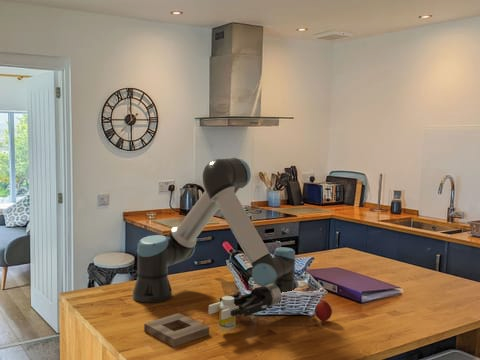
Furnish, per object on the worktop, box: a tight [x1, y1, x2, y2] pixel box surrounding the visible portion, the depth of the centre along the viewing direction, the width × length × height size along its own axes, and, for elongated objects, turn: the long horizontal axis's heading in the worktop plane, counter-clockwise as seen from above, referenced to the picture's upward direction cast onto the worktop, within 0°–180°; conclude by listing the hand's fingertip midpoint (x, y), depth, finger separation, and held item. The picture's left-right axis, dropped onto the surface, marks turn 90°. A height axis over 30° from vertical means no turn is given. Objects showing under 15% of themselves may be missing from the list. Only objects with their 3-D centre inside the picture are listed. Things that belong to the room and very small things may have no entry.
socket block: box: [143, 312, 210, 348], centre depth 156 cm, size 16×14×2 cm
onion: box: [314, 299, 333, 323], centre depth 168 cm, size 6×6×8 cm
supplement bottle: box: [218, 295, 237, 331], centre depth 156 cm, size 5×5×10 cm
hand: (215, 312), depth 152 cm, fingers closed on supplement bottle, 5 cm apart
